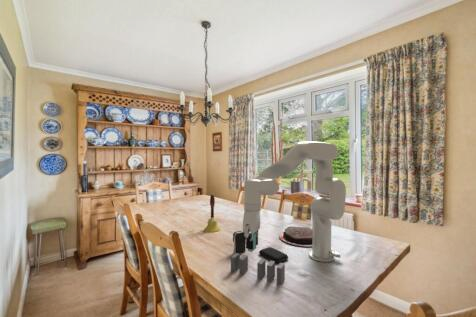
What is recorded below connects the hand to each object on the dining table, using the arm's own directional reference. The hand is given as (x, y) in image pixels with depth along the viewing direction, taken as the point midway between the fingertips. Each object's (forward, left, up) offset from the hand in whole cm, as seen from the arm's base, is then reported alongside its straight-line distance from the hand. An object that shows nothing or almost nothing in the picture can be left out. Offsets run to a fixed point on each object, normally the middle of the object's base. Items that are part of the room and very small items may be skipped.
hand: (252, 246), depth 105 cm
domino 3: (0, 0, -1) cm, 1 cm away
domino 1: (+9, 0, -13) cm, 16 cm away
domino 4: (-5, 0, -13) cm, 14 cm away
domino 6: (-13, 0, -13) cm, 19 cm away
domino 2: (+4, 0, -13) cm, 14 cm away
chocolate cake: (-11, -55, -13) cm, 58 cm away
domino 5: (-9, 0, -13) cm, 16 cm away
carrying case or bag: (-3, -22, -13) cm, 26 cm away
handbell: (+50, -44, -13) cm, 68 cm away
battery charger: (+16, -19, -13) cm, 28 cm away
